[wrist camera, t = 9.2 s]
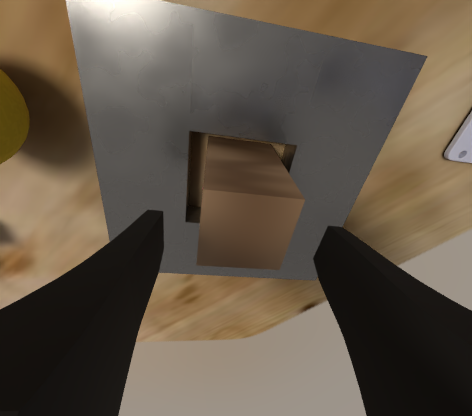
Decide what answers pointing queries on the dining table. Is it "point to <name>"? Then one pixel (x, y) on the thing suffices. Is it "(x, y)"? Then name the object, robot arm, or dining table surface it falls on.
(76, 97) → the dining table surface
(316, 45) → the grey plate with hole
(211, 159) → the brown rectangular block
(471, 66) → the dining table surface
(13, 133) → the lemon
